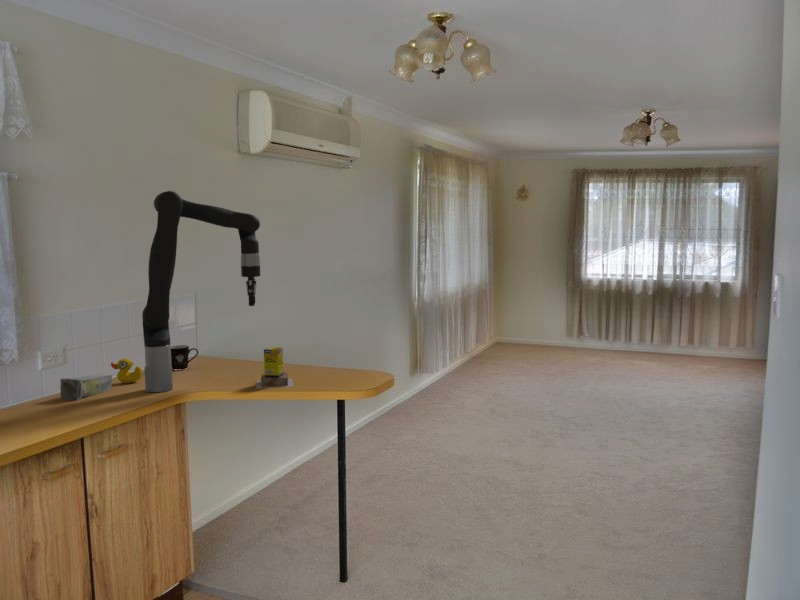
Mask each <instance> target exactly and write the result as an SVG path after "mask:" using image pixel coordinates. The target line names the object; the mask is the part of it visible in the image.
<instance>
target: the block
mask: <svg viewBox="0 0 800 600" xmlns="http://www.w3.org/2000/svg"><path fill="white" fill-rule="evenodd" d="M112 379H113V376H112V374H104V373H103V374H102V373H98V374H97V373H96V374H91V375H85V376H78V377H71V378H69V377H65V378H63V377H62V378H60V400H64V401H80V400H82V398H85V397H88V396H89V397H90V396H92V395H96V394H100V393H103V392H106V391H110V390H113V389H112V388H113V387H112V386H113V383H112V382H113V380H112Z"/></svg>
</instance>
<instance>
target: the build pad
mask: <svg viewBox="0 0 800 600" xmlns="http://www.w3.org/2000/svg"><path fill="white" fill-rule="evenodd" d="M289 387H294V380H293V378H288V386H271V387H261V379H259V380H256V384H255V389H257V390H258V389H271V388H272V389H273V388H289Z"/></svg>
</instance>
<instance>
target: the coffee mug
mask: <svg viewBox="0 0 800 600" xmlns="http://www.w3.org/2000/svg"><path fill="white" fill-rule="evenodd" d="M193 350H194V351H196V354H195V356H194V357H192V358H190V359H189V356H190V353H191V351H193ZM198 355H199V351H198V349H197V348H195V347H194V348H193V347H192V348H190V345H188V344H187V345H186V344H180V345H179V344H178V345H171V364H172V369H185V368H187V367H188V366H189V363H190V362H191V361H193V360H194V359H195V358H196V357H197V356H198ZM188 368H189V367H188Z"/></svg>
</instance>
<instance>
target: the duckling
mask: <svg viewBox="0 0 800 600" xmlns="http://www.w3.org/2000/svg"><path fill="white" fill-rule="evenodd" d="M133 365H134V362H133V360H131V359H129V358H121V359H119V360H118V361H117V363H114V362H110V366H111V368H113V370H119V371H118V372H117V374H116V377H117V380H118V381H119V382H121V383H122V384H131V383H136V382H138V381H139V380H141V378H142V376H143V368H142V367H141V366H139V365H136V366H135V368H134V370H133V371H130V370H131V368H132V367H133Z"/></svg>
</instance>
